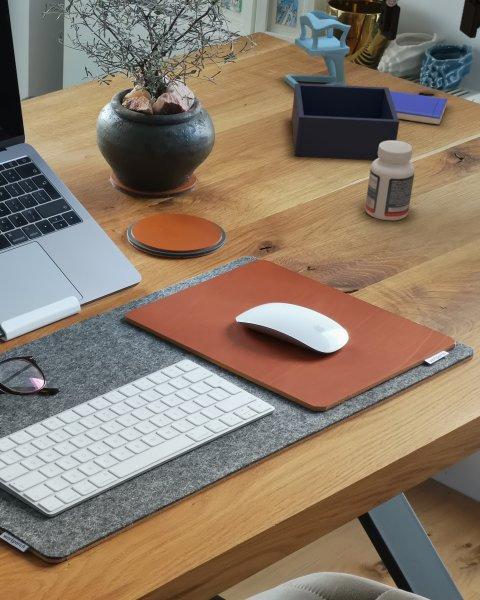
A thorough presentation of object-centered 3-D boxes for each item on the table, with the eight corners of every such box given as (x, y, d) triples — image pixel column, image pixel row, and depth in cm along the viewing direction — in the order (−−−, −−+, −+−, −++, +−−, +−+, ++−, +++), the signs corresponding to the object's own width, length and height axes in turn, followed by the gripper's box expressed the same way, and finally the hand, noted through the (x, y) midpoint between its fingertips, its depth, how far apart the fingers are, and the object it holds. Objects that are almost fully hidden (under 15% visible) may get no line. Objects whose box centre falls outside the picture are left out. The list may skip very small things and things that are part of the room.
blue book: (356, 103, 167) (440, 115, 163) (366, 86, 174) (447, 97, 170) (354, 113, 168) (438, 125, 164) (364, 95, 175) (446, 107, 171)
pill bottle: (413, 209, 140) (425, 144, 135) (399, 225, 136) (410, 158, 132) (373, 199, 143) (383, 134, 138) (358, 214, 139) (367, 148, 134)
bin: (382, 124, 164) (388, 87, 161) (393, 161, 153) (399, 121, 150) (291, 120, 166) (295, 83, 163) (294, 156, 154) (298, 116, 151)
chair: (351, 92, 176) (361, 17, 170) (302, 96, 174) (311, 21, 168) (331, 76, 182) (340, 3, 176) (284, 80, 181) (291, 7, 175)
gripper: (389, -110, 117) (367, 48, 126) (545, -113, 119) (512, 43, 128) (365, -123, 124) (345, 28, 132) (514, -126, 125) (484, 24, 134)
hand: (427, 35), depth 130 cm, fingers open, 9 cm apart
